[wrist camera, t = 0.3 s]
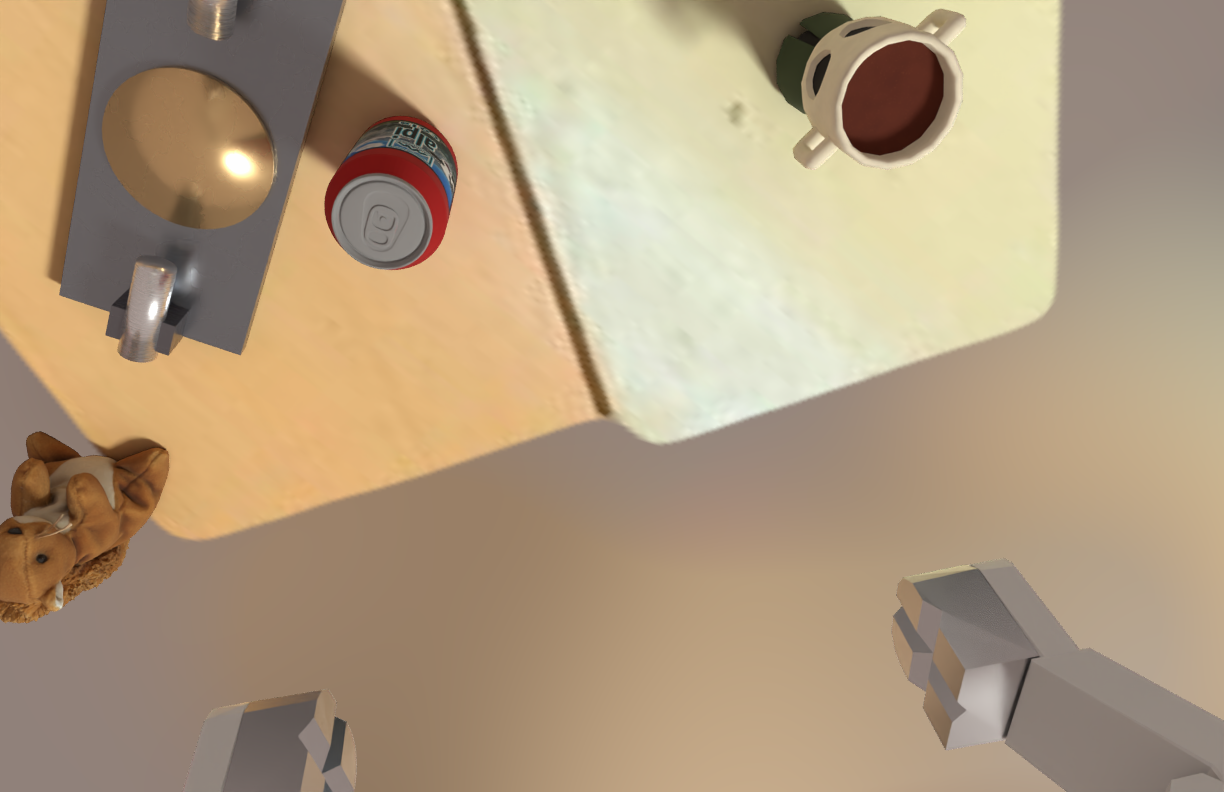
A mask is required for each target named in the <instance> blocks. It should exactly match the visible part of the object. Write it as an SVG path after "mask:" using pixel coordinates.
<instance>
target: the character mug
mask: <svg viewBox="0 0 1224 792" xmlns="http://www.w3.org/2000/svg"><path fill="white" fill-rule="evenodd" d="M800 25H801V26H803V27H804V28H806V29H808V31H806V32H804V33H803V34H801V35H800V37H799V39H796V38H794V37H792V36H790V35H788V36H787V37H786V38H785V39H784V42H783V44H782V47H781V50H780V52H779V55H778V57H777V60H776V65H777V84H778V86H779V88H780V90H781V92H782V94H783V95H784V97H785V99H786V101H787V102H788V103H789V104H790V105H792V106H793V107H795V108H796V109H798V110H799V111H801V112H802V113H804V114H806V115H807V117H808V119H809V121H810V123H811V125H812V127H813V128H812V129H811V130H810V131H809V132H808V133H807V134H806V135H805V136H804V137H803V138H802V139H801V140H800V141H799V142H798V143H797V144H796V146H795V147H794V148H793V154H794V158H795V159H796V160H797V161H798V162H800V163H801V164H802V165H803V166H804V167H805V168H808V169H810V170H815V169H816V168H818V167H819V166H821V165H822V164H823V163H824V162H825V161H826V160H827V159H828V158H829V157H830V156H831V155H833V154H834V153H835V152H836V151H837V150H838V149H840V150H842V151H843V152H844V153H846V154H847V155H848V156H850V157H851V158H853V159H854V160H855V161H857V162H858V163H859V164H861V165H863V166H868V167H874V168H879V169H885V170H889V169H893V168H898V167H902V166H906V165H911V164H913V163H915V162H916V161H918V160H919V159H921V158H922V157H924V156H925V155H927V154H929V153H930V152H932V151H933V150H935V149H936V147H937V146H938V145H939V144H940V142H941V141H942V140H943V139H944V137H945V136H946V135H947V134H948V132H949V131H950V130H951V129H952V127H953V125H954V122H955V119H956V117H957V114H958V112H959V109H960V106H961V104H962V101H963V73H962V70H961V68H960V65H959V63H958V60H957V58H956V55H955V53H954V51H953V50H952V49H951V48H949V47H948V46H947V45H948V44H949V43H950V42H951V41H953V40H954V39H955V38H956V37H957V36H958V35H959V34H960V33H961V32H962V30H963V29H964V28H965V27H966V18H965V16H964V15H962V14H959V13H957V12H953V11H949V10H944V9H938V10H935V11H934V12H932V13H931V14H930V15H928V16H927V17H926V18H925V19H924V20H923V21H922V22H921V23H920V24H919V25H918V26H917V27H916V28H915V27H912V26H910V25H908V24H905V23H902V22H899V21H895V20H892V19H888V18H885V17H881V16H879V17H864V18H861V19H857V20H852V19H851V18H849V17H848V16H846V15H845V14H835V13H826V12H823V13H820V14H817V15H815V16H812V17H809V18H806V19H804V20H803V21H802V22H801V23H800Z"/></svg>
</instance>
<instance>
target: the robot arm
mask: <svg viewBox="0 0 1224 792" xmlns="http://www.w3.org/2000/svg"><path fill="white" fill-rule="evenodd" d="M896 596H897V598H898V599H899V601H900V603H901V605H902V607H901V608H900V609H899V610H898V611H897V612H896V613H895V614H894V616H893V623H892V637H893V642H894V648H895V652H896V654H897V657H898V660H899V663H900V665H901V667H902V669H903V671H904V673H905V675H906V677H907V679H908V680H909V681H910V682H912V683H913V684H915V685H916V686H918V687H919V688H921V689H922V690H924V691H925V692H926V694H925V698H924V704H923V709H924V711H925V713H926V715H927V717H928V719H929V720H930V722H931V724H932V726H933V728H934V730H935V732H936V733H937V735H938V737H939V739H940V741H941V743H942V745H943V746H944V748H945V750H950V749H956V748H962V747H967V746H973V745H979V744H985V743H990V742H995V741H1001V740H1006V741H1005V744H1006V745H1008V746H1009V747H1010V748H1012V749H1013V750H1014V751H1015V752H1017V753H1018V754H1019V755H1021V756H1022V757H1023V758H1024V759H1025V760H1027V761H1028V762H1029V763H1031V764H1032V765H1033V766H1034V767H1036V768H1037V769H1038V770H1040V771H1041V772H1042V773H1043V774H1045V775H1046V776H1047V777H1048V778H1050V779H1051V780H1052V781H1054V782H1055V783H1056V784H1057V785H1059V786H1060V787H1061V788H1063V789H1064V790H1065V791H1066V792H1224V720H1222V719H1220V718H1218V717H1216V716H1215V715H1212V714H1211V713H1209V712H1207V711H1205V710H1203V709H1201V708H1200V707H1198V706H1196V705H1194V704H1192V703H1191V702H1189V701H1187V700H1185V699H1183V698H1181V697H1179V696H1177V695H1176V694H1174V693H1172V692H1170V691H1168V690H1167V689H1165V688H1163V687H1161V686H1159V685H1158V684H1156V683H1154V682H1152V681H1150V680H1148V679H1146V678H1145V677H1143V676H1141V675H1139V674H1137V673H1135V672H1134V671H1132V670H1130V669H1128V668H1126V667H1124V666H1123V665H1121V664H1119V663H1117V662H1115V661H1113V660H1112V659H1110V658H1108V657H1106V656H1104V655H1102V654H1101V653H1099V652H1097V651H1095V650H1093V649H1091V648H1086V649H1079V648H1078V647H1077V645H1076V644H1075V643H1074V641H1073V640H1072V639H1071V638H1070V636H1069V635H1068V634H1067V633H1066V631H1065V630H1064V629H1063V627H1062V626H1061V625H1060V623H1059V622H1058V621H1057V620H1056V618H1055V617H1054V616H1053V614H1052V613H1051V612H1050V611H1049V609H1048V608H1047V607H1046V605H1045V604H1044V603H1043V601H1042V600H1041V599H1040V598H1039V596H1038V595H1037V594H1036V593H1035V591H1034V590H1033V589H1032V587H1031V586H1030V585H1029V583H1028V582H1027V581H1026V580H1025V578H1024V577H1023V576H1022V574H1021V573H1020V572H1019V571H1018V569H1017V568H1016V567H1015V566H1014V564H1013V563H1012V562H1010V561H1009V560H1007V559H1005V558H1003V559H996V560H991V561H986V562H982V563H977V564H972V565H961V566H957V567H952V568H947V569H942V570H938V571H932V572H928V573H923V574H918V575H914V576H909V577H903V578H902V579H901V581H900V582H899V583H898V588H897V594H896ZM336 704H337V702H336V701H335V699H334V697H333V696H332V694H331V692H330V691H329V689H325V690H319V691H313V692H307V693H301V694H295V695H289V696H283V697H277V698H271V699H265V700H259V701H253V702H247V703H242V704H236V705H230V706H225V707H220V708H214V709H212V711H211V712H210V714H209V715H208V717H207V718H206V719H205V721H204V723H203V726H202V730H201V733H200V736H199V739H198V742H197V746H196V749H195V752H194V756H193V759H192V762H191V765H190V768H189V772H188V775H187V778H186V781H185V785H184V788H183V791H182V792H354V790H355V781H356V772H357V765H356V747H355V743H354V739H353V736H352V732H351V730H350V728H349V726H348V724H347V722H346V721H344V720H342V719H339V718H337V717H335V711H336Z"/></svg>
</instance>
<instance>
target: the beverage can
mask: <svg viewBox="0 0 1224 792" xmlns="http://www.w3.org/2000/svg"><path fill="white" fill-rule="evenodd" d="M457 175H458V168H457V161H456V157H455V154H454V152H453V149H452V147H451V146H450V144H449V142H448V141H447V139H446V138H445V137H444V136H443V135H442V134H441V133H440V132H439V131H438V130H437V129H436V128H434V127H433V126H432V125H430V124H428V123H426V122H424V121H422V120H420V119H417V118H413V117H408V116H394V117H389V118H385V119H383V120H380V121H378V122H376V123H375V124H373V125H372V126H371V127H369V128H368V129H367V130H366V132H365V133H364V134H363V135H362V137H361V138H360V139H359V140H358V142H357V143H356V144H355V146H354V147H353V148H352V150H351V151H350V153H349V154H348V155H347V157H346V158H345V160H344V161H343V163H342V164H341V166H340V167H339V169H338V170H337V172H336V173H335V175H334V176H333V178H332V179H331V181H330V183H329V185H328V188H327V191H326V195H325V216H326V220H327V223H328V226H329V229H330V231H331V233H332V235H333V236H334V238H335V240H336V241H337V242H338V244H339V245H340V246H341V247H342V248H343V249H344V250H345V251H346V252H347V253H348V254H349V255H350V256H351V257H353V258H354V259H355V260H357V261H358V262H360V263H362V264H364V265H367V266H369V267H373V268H377V269H385V270H398V269H405V268H409V267H412V266H415V265H417V264H419V263H421V262H423V261H424V260H426V259H427V258H428V257H430V256H431V255H432V254H433V253H434V252H435V250H436V249H437V248H438V246H439V245H440V243H441V241H442V239H443V237H444V234H445V230H446V227H447V223H448V219H449V215H450V211H451V207H452V202H453V198H454V193H455V188H456V182H457Z"/></svg>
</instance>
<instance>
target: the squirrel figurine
mask: <svg viewBox="0 0 1224 792" xmlns="http://www.w3.org/2000/svg"><path fill="white" fill-rule="evenodd" d="M26 446H27V452H28V457H29V459H28V460H26V461H25V462H23V463H22V464H21V465H20V466H19V467H18V469H17V470H16V472H15V475H14V477H13V481H12V487H11V510H12V514H13V516H14V517H12V518H9V519H7V520H6V521H4V522H3V523H2V524H1V525H0V619H1V620H2V621H3V622H5V623H6V622H9V621H10V622H13V623H15V622H17V623H23V622H26V623H29V622H30V621H33V620H35V621H37V620H38V618H40V617H42V616H44V615H45V614H46V615H48V613H49V612H50V611H58V610H59V609H61V608H62V607H63V606H65V604H67V603H68V602H69V601H71V600H74V598H75V597H76V596H78V595H79V594H80V593H81V592H82V591H83V590H85V591H86V590H89V589H92V588H94V587H96V588H97V586H98V585H99V584H101V583H102V582H103V579H107V578H109V577H110V576H111V574H112V572H114V571H117V568H118V567H119V566H121V565H122V561H123V559H124V558H125V554H126V550H127V549H129V547H128V543H129V541H130V539H129V538H131V537H132V536H133V535H135V534H136V532H137V531H138V530H139V529H140V528H141V527H142V526H143V525H144V524H145V523H146V522H147V520H148V519H149V517H150V516H151V514H152V513H153V511H154V509H155V508H156V505H157V503H158V501H159V499H160V496H161V493H162V490H163V487H164V485H165V482H166V479H167V475H168V471H169V454H168V451H166V450H163V449H161V448H158V447H156V448H151V449H148V450H145V451H142V452H140V453H137V454H134V455H131V456H128V457H126V458H124V459H121V460H119V461H118V462H117V461H115V460H114V459H111V458H108V457H103V456H98V455H93V456H86V457H81V456H80V455H79V454H78V453H77V452H76V451H75V450H73V449H72V448H70V447H69V446H66V445H65V444H63V443H61V442H60V441H58V440H56V439H55V438H53V437H51V436H49V435H48V434H46V433H43V432H41V431H40V432H35V433H33V434H32V435H29V436H28V438H27V440H26Z"/></svg>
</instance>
